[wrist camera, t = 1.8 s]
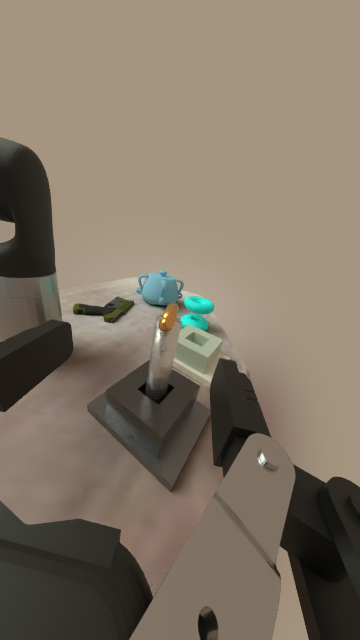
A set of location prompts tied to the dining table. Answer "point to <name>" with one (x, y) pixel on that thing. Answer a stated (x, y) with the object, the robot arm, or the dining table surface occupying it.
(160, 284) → the decorative pot
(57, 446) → the dining table surface
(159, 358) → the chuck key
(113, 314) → the gun
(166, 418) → the block
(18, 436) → the dining table surface
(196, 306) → the donuts
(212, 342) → the pale green socket base
